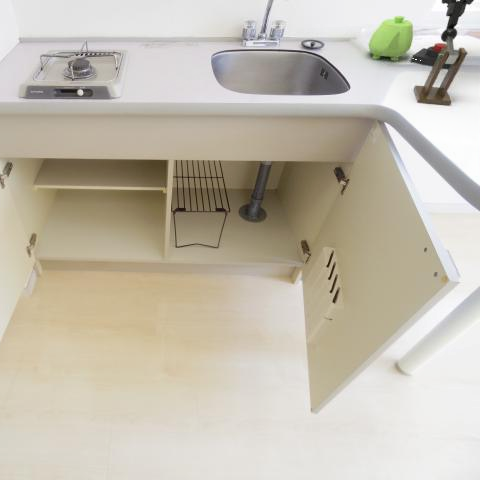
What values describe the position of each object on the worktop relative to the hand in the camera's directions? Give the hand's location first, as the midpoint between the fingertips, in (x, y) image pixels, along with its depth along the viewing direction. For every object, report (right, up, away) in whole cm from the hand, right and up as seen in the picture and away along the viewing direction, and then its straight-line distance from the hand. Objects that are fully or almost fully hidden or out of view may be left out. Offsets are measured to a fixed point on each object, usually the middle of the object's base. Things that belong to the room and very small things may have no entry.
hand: (451, 26), depth 99 cm
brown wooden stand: (-3, -19, +3) cm, 19 cm away
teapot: (0, +7, +29) cm, 30 cm away
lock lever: (-2, -7, 0) cm, 8 cm away
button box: (+13, +2, +23) cm, 27 cm away
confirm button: (+13, +5, +21) cm, 25 cm away
